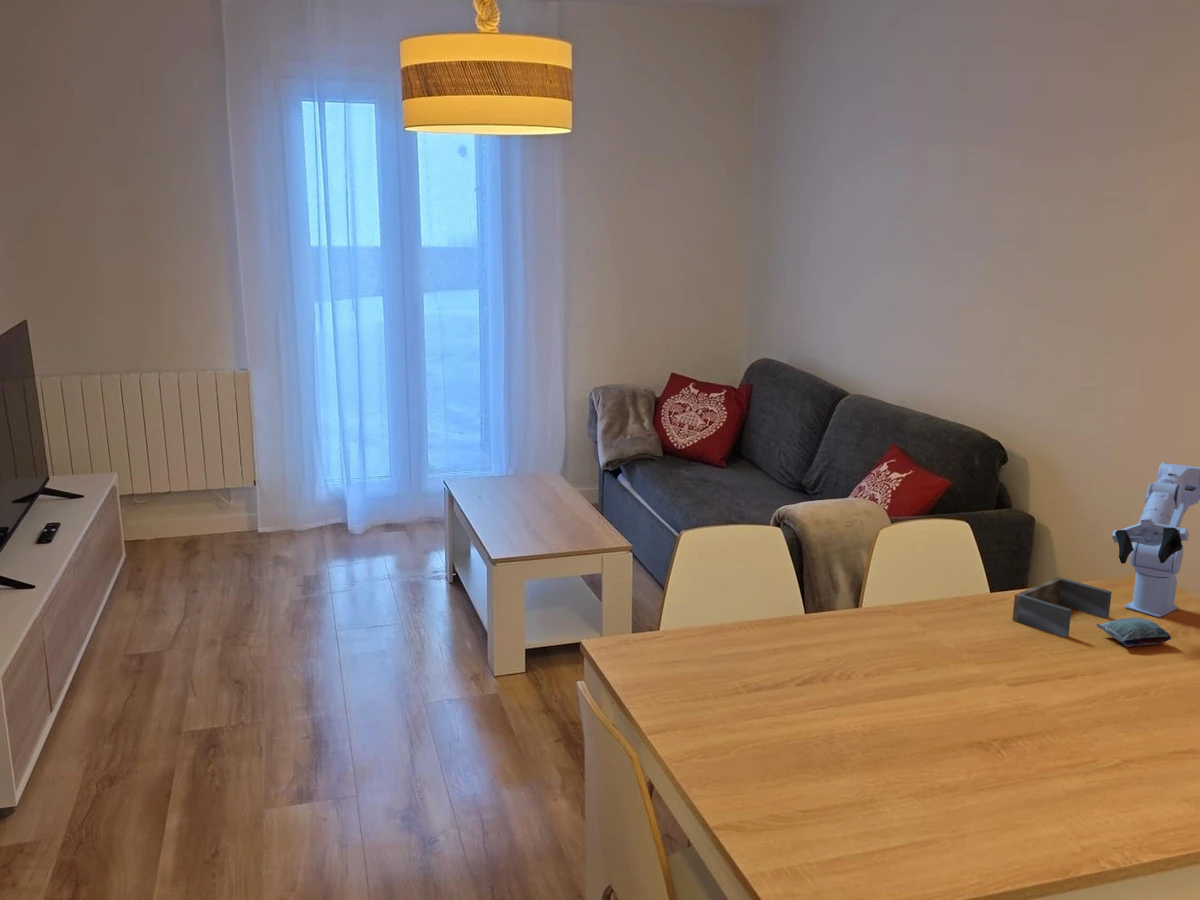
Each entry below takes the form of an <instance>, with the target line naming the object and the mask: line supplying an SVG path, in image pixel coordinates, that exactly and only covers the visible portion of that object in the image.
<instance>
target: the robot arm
mask: <svg viewBox="0 0 1200 900" xmlns="http://www.w3.org/2000/svg"><path fill="white" fill-rule="evenodd" d="M1199 501H1200V466H1193V465H1185V464H1176V463H1168V462H1166V461H1164V462H1162V463H1160V464H1159V468H1158V471H1157V479H1156V481H1153V483H1151V482H1149V484H1148V486H1147V489H1146V495H1145V500H1144V506H1143V510H1142V513H1141V515H1140V518H1139V521H1138V523H1136V524H1133V525H1130V526H1128V527H1125V528H1120V529H1115V530H1113V531H1112V534H1111V537H1112V539H1113V543H1116V544H1117V543H1118V550H1119V551H1118V559H1119V561H1120V564H1124V565H1125V564H1127V563H1126V562H1127V560H1128V557H1129V563H1130V565H1131V567H1133V568H1134V572H1135V577H1134V578H1135V579H1134V585H1133V586H1134V587H1133V593H1132V594H1133V595H1132V601H1130V602H1128V603H1126V604H1125V605H1124V608H1126V609H1127V610H1133V611H1135V612H1138V613H1143V614H1146V615H1150V616H1153V617H1157V618H1162V617H1164V616H1165V615H1167V614H1169V613H1172V612H1173V611H1176V610H1177V609H1179V605H1175V599H1176V593H1177V585H1178V580H1177V579H1178V578H1177V576H1176V575H1177V574H1178V573H1180V571H1181V567H1182V562H1183V557H1184V556H1183V555H1184V545H1183V542H1187V541H1189V537H1190V533H1189V531H1188V528H1187V527H1181V524H1182V521H1183V519H1184V516H1185V514H1186V512H1187V511H1188V510H1189V507H1190V506H1193V505H1197V504H1198V503H1199ZM1129 555H1130V556H1129Z"/></svg>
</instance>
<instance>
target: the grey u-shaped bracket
mask: <svg viewBox="0 0 1200 900" xmlns="http://www.w3.org/2000/svg"><path fill="white" fill-rule="evenodd" d="M1112 593H1113V592H1112V591H1110V590H1108V589H1103V588H1099V587H1096V586H1093V585H1089V584H1086V583H1082V582H1078V581H1076V580H1071V579H1067V578H1064V577H1060V576H1057V577H1055V578H1053V579H1051V580H1047V581H1046V582H1043V583H1041V584H1038V585H1036V586H1033V587H1030V588H1028V589H1026V590H1024V591H1021V592H1018V593H1015V594H1014V601H1013V609H1012V619H1011V620H1012V621H1014V622H1017V623H1019V624H1023V625H1026V626H1029V627H1032V628H1035V629H1036V630H1037V629H1039V630H1041V631H1044V632H1047V633H1051V634H1052V635H1056V636H1060V637H1063V638H1067V637H1069V635H1070V627H1071V626H1070V625H1071V617H1072V610H1077V611H1078V612H1083V613H1086V614H1090V615H1093V616H1096V617H1099V618H1103V619H1108V618H1110V617H1109V616H1110V609H1111V601H1112Z"/></svg>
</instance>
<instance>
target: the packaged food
mask: <svg viewBox="0 0 1200 900" xmlns="http://www.w3.org/2000/svg"><path fill="white" fill-rule="evenodd" d="M1096 627H1097V628H1098V629H1100V630H1102V631H1104V633H1106V634H1107V635H1109V636H1110V637H1112V638H1113V639H1115V640H1116V641H1117V642H1119V643H1121V644H1123V645H1124V646H1125V647H1129V648H1131V647H1138V646H1151V645H1157V644H1162V643H1166V642H1168V641H1172V636H1171V635H1170V634H1169V632H1168V631H1167V630H1166V629H1164V628H1162V627H1161V626H1160V625H1159V624H1157V623H1156V622H1153V621H1152V620H1150V619H1147V618H1142V617H1128V618H1118V619H1115V620H1111V621H1106V622H1104V623H1101V624H1100V623H1096Z"/></svg>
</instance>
